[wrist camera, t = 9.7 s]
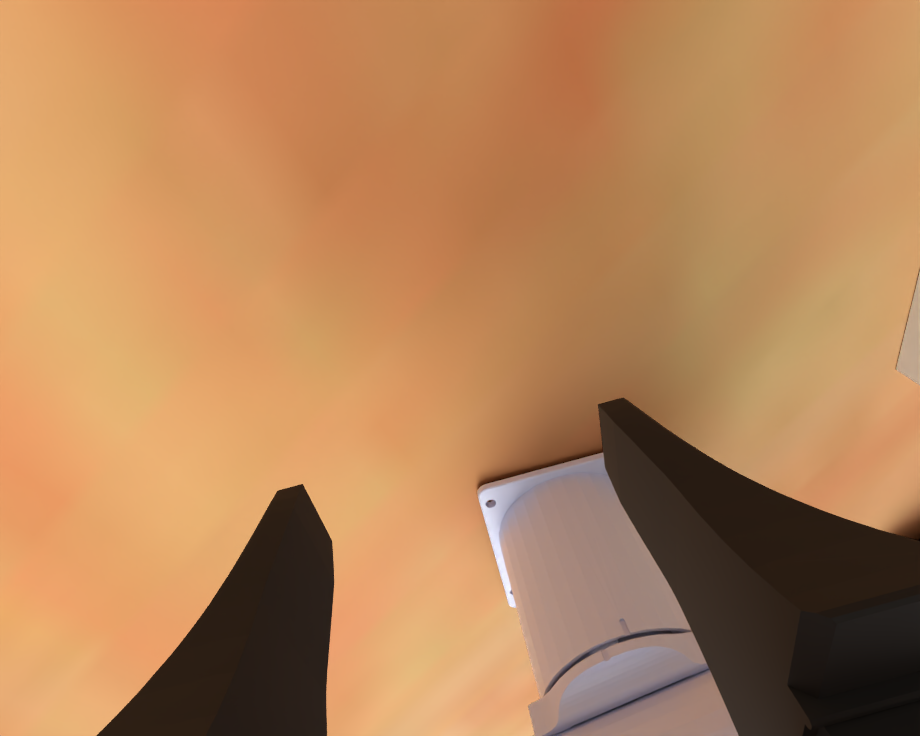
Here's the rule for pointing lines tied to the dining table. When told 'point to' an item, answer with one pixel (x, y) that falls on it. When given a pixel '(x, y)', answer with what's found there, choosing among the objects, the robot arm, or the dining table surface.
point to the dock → (911, 341)
